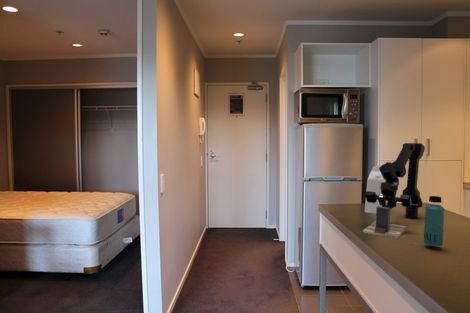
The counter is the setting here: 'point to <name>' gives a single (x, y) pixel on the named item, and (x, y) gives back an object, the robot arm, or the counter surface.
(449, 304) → the counter surface
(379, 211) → the fader cap
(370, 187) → the milk
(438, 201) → the beverage bottle
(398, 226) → the console panel
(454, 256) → the counter surface
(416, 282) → the counter surface
